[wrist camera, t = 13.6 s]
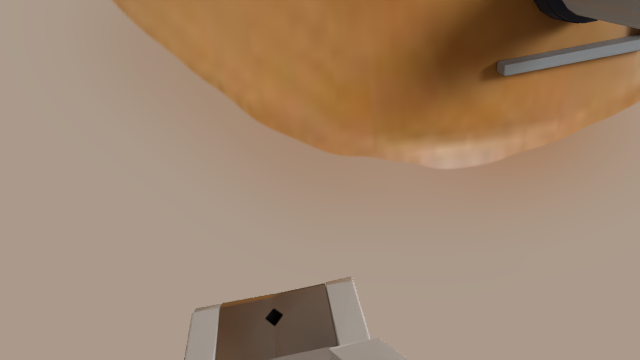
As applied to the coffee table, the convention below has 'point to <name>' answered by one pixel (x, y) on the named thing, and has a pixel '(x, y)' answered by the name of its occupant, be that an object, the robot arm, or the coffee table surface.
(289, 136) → the coffee table surface
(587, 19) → the humidifier
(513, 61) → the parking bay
